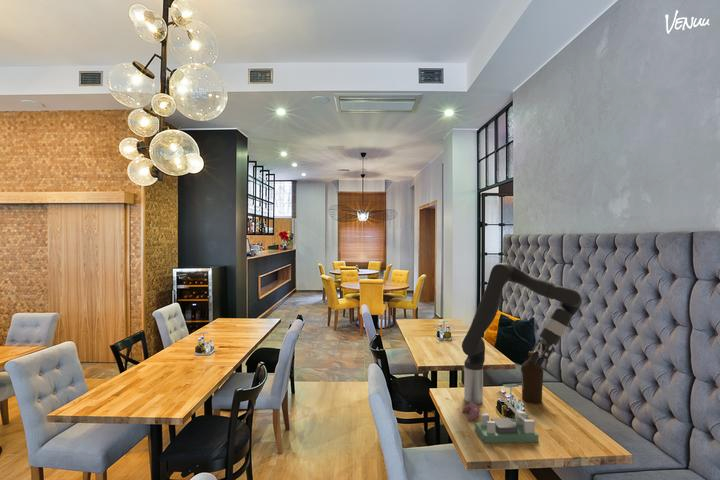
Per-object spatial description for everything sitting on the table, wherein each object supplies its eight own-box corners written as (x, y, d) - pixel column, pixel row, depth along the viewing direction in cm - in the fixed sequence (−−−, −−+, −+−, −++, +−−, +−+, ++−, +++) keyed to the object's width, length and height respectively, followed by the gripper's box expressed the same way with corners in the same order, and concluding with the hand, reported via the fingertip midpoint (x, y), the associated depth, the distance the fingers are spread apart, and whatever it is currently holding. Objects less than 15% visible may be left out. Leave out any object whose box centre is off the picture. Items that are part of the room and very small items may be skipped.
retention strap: (495, 394, 159) (499, 389, 159) (522, 421, 159) (526, 417, 159) (499, 398, 154) (504, 394, 154) (527, 426, 154) (531, 422, 155)
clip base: (475, 429, 162) (475, 411, 162) (525, 428, 163) (525, 410, 163) (484, 442, 151) (484, 423, 151) (538, 442, 152) (538, 422, 152)
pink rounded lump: (476, 424, 169) (482, 411, 169) (467, 420, 169) (474, 406, 169) (469, 414, 179) (475, 401, 179) (461, 410, 179) (467, 397, 179)
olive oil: (544, 398, 193) (544, 351, 194) (541, 406, 185) (541, 356, 185) (523, 393, 200) (523, 347, 200) (518, 400, 191) (519, 352, 191)
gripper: (539, 325, 167) (521, 355, 167) (550, 329, 153) (530, 362, 153) (555, 334, 166) (537, 365, 166) (567, 339, 152) (547, 372, 152)
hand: (534, 363), depth 159 cm, fingers open, 8 cm apart
